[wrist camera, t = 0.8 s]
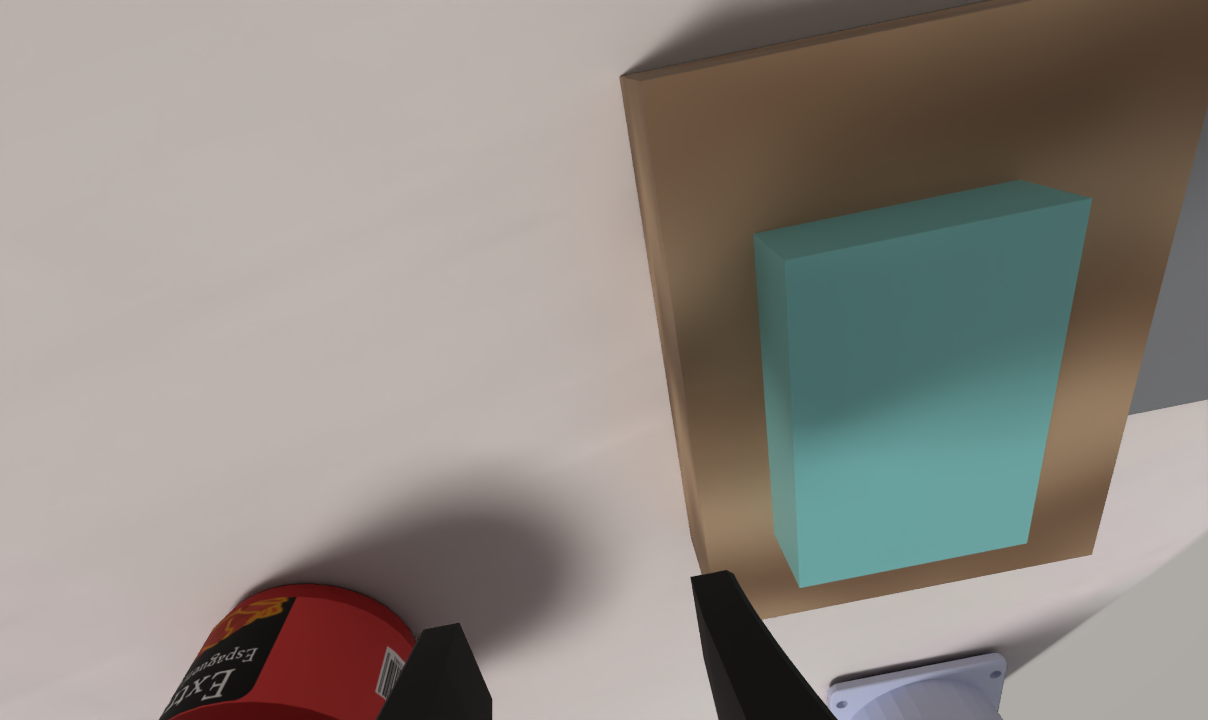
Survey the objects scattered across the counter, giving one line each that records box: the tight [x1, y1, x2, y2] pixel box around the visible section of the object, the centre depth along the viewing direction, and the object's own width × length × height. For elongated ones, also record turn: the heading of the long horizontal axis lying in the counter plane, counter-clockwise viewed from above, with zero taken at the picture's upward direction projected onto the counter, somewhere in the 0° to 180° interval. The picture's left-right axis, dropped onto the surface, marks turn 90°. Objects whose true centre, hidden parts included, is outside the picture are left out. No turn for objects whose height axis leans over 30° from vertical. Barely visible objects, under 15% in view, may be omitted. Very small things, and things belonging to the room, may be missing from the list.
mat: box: [1128, 107, 1208, 415], centre depth 18 cm, size 14×9×1 cm, turn 11°
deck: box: [620, 0, 1208, 620], centre depth 17 cm, size 16×12×4 cm
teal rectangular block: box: [753, 180, 1092, 588], centre depth 14 cm, size 9×6×2 cm, turn 11°
